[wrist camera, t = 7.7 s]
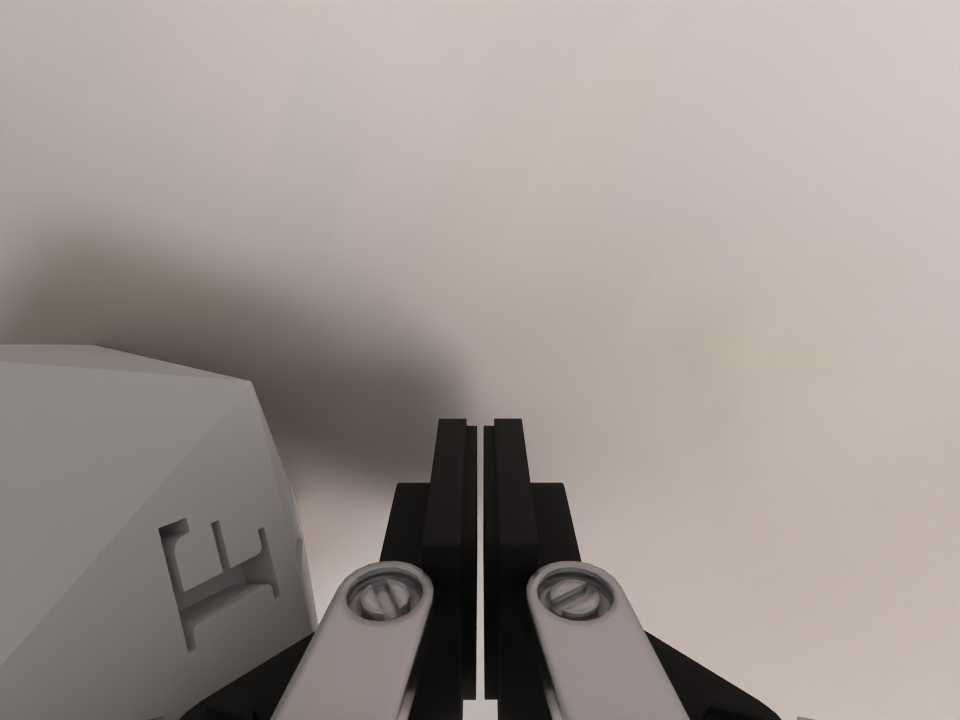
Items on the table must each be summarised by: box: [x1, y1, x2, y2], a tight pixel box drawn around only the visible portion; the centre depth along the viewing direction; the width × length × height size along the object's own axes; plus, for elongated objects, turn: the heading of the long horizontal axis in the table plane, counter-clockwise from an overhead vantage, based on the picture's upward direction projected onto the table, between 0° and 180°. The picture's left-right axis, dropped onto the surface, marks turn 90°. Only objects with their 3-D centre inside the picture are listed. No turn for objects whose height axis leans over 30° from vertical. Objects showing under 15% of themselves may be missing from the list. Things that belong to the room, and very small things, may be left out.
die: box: [0, 344, 318, 720], centre depth 10 cm, size 8×9×10 cm
